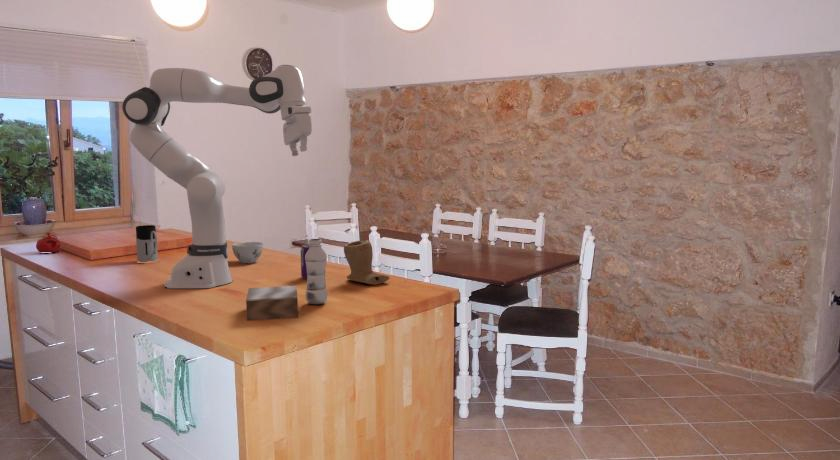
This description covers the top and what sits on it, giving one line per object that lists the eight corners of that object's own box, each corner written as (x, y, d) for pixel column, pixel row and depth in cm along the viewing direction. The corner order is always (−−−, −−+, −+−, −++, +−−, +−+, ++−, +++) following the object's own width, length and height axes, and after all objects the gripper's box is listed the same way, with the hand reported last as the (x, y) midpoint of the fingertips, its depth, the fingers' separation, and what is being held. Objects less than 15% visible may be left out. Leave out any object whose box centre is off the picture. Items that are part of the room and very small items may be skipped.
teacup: (270, 261, 257) (269, 242, 256) (246, 266, 247) (245, 247, 245) (246, 257, 265) (245, 239, 264) (222, 262, 255) (221, 243, 254)
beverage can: (316, 280, 221) (315, 247, 220) (298, 279, 223) (297, 246, 221) (323, 276, 228) (322, 244, 227) (305, 275, 230) (304, 243, 228)
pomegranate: (31, 254, 275) (29, 234, 274) (48, 250, 285) (46, 231, 284) (51, 255, 274) (48, 234, 272) (67, 250, 283) (65, 231, 282)
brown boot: (337, 281, 219) (337, 240, 217) (364, 276, 227) (364, 236, 225) (363, 288, 208) (362, 245, 206) (390, 283, 216) (390, 241, 214)
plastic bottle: (306, 301, 192) (304, 238, 189) (328, 300, 192) (327, 237, 189) (304, 306, 185) (302, 241, 182) (327, 306, 186) (325, 241, 183)
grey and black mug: (154, 259, 263) (151, 224, 261) (168, 263, 253) (166, 227, 251) (133, 261, 257) (130, 226, 255) (146, 266, 247) (144, 229, 245)
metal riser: (247, 320, 171) (246, 299, 170) (249, 307, 184) (248, 288, 184) (298, 317, 174) (297, 296, 173) (296, 304, 187) (296, 285, 187)
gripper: (276, 120, 215) (281, 159, 215) (294, 106, 198) (299, 148, 197) (294, 119, 218) (299, 158, 218) (312, 105, 201) (318, 147, 200)
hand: (299, 153), depth 208 cm, fingers open, 8 cm apart
